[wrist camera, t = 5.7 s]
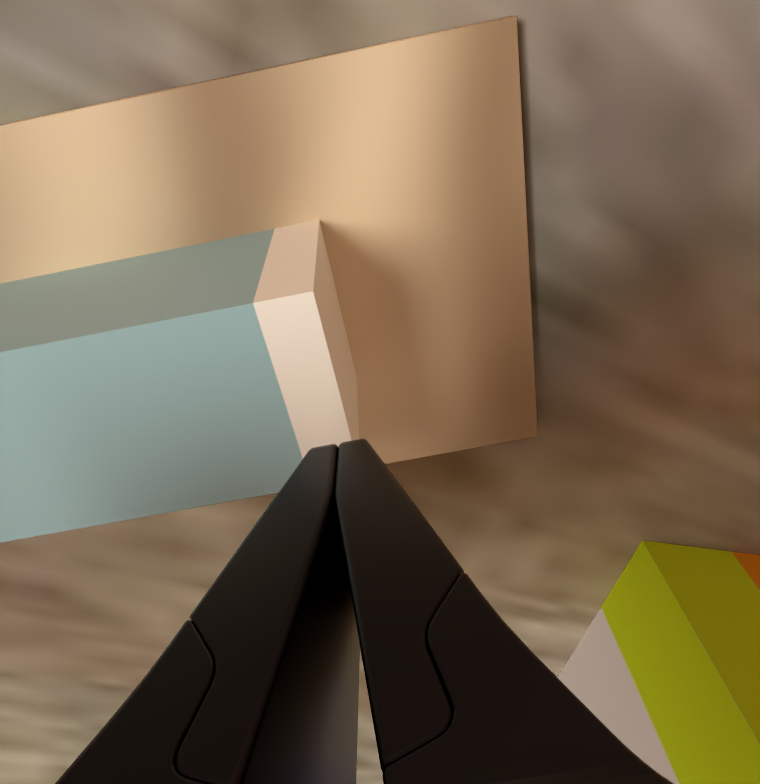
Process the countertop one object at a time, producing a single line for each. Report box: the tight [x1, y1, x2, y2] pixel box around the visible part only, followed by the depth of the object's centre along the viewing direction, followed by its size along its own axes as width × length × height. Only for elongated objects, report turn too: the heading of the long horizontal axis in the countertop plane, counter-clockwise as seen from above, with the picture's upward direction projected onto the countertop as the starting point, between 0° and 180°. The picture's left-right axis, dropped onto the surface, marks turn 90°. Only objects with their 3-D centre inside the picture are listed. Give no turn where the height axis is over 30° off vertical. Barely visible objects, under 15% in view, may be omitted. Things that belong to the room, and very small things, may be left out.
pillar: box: [0, 220, 359, 543], centre depth 13 cm, size 4×4×9 cm
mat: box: [0, 16, 538, 464], centre depth 14 cm, size 14×10×1 cm
